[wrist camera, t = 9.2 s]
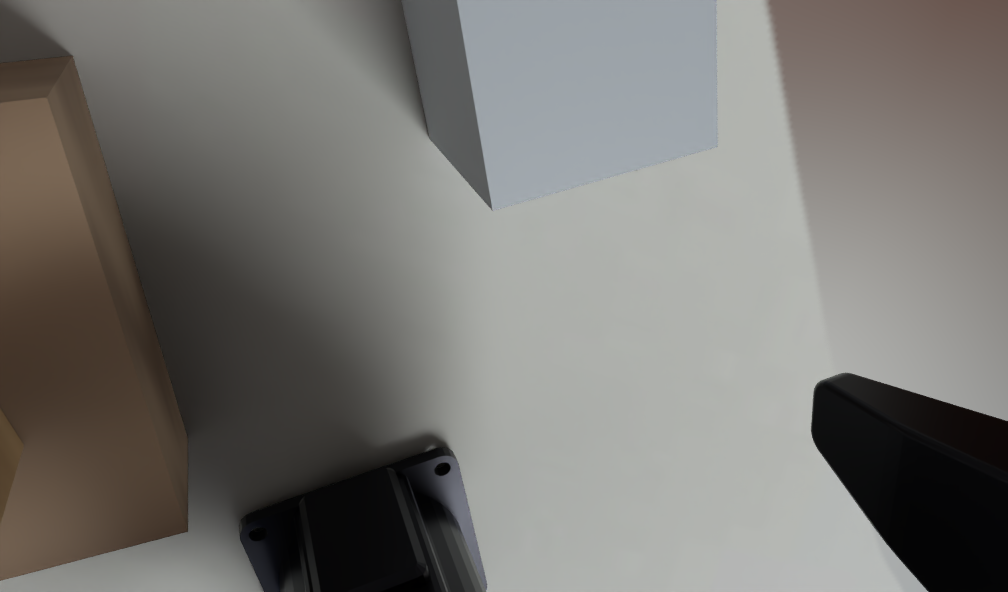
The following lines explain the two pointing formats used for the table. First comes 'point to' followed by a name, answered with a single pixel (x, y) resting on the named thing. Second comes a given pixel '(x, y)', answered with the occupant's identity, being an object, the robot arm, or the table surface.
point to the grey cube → (563, 88)
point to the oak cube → (8, 459)
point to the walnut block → (76, 342)
